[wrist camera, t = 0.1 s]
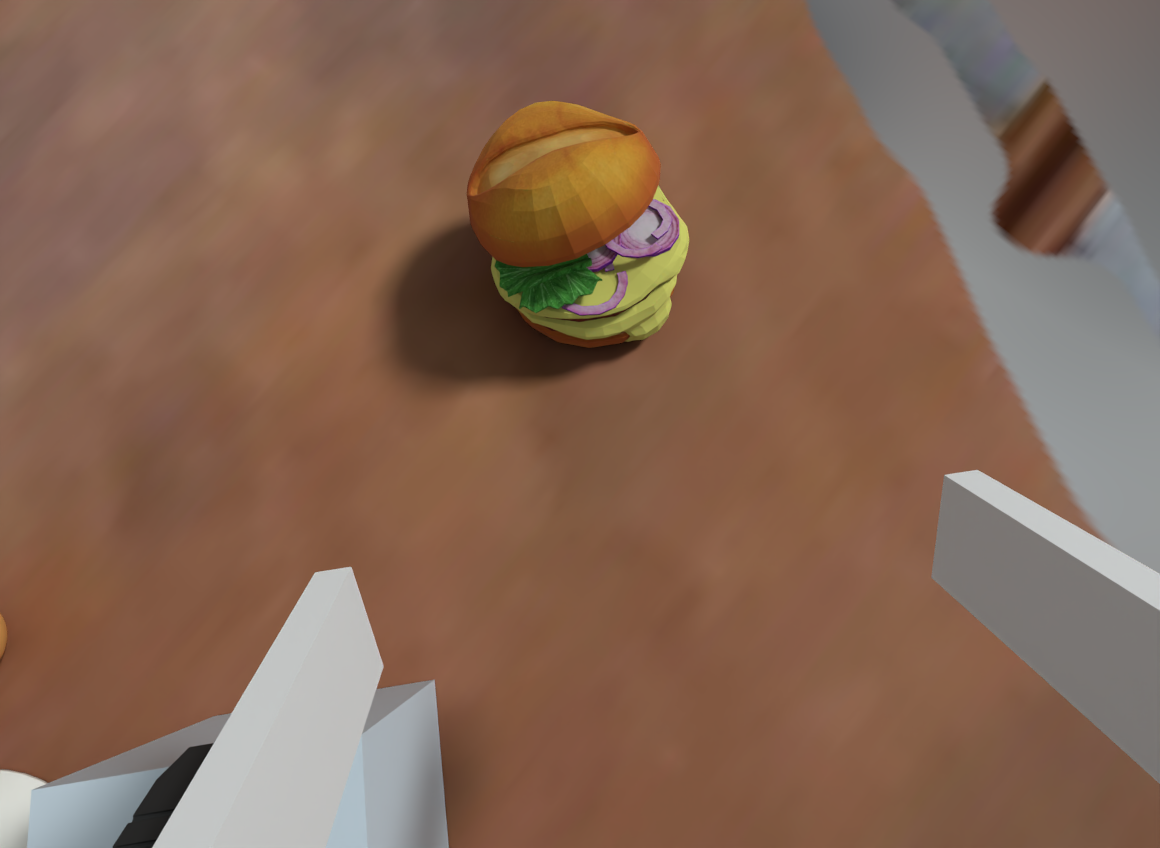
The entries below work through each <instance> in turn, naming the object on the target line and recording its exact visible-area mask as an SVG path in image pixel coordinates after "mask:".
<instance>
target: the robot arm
mask: <svg viewBox="0 0 1160 848" xmlns="http://www.w3.org/2000/svg"><path fill="white" fill-rule="evenodd" d="M931 578H932V579H934V580H935V581H936V582H937V583H938V584H939V585H940V586H941V587H942V588H944V589H945V590H946V591H947V592H948V593H949V594H950V595H951V596H952V597H954V598H955V599H956V600H957V601H958V602H959V603H960V604H961V605H962V606H964V607H965V608H966V609H967V610H968V611H969V612H970V613H971V614H972V615H973V616H975V617H976V618H977V619H978V620H979V621H980V622H981V623H982V624H983V625H985V626H986V627H987V628H988V629H989V630H990V631H991V632H992V633H993V634H995V635H996V636H997V637H998V638H999V639H1000V640H1001V641H1002V642H1003V643H1005V644H1006V645H1007V646H1008V647H1009V648H1010V649H1011V650H1012V651H1013V652H1014V653H1016V654H1017V655H1018V656H1019V657H1020V658H1021V659H1022V660H1023V661H1024V662H1026V663H1027V664H1028V665H1029V666H1030V667H1031V668H1032V669H1033V670H1034V671H1036V672H1037V673H1038V674H1039V675H1040V676H1041V677H1042V678H1043V679H1044V680H1046V681H1047V682H1048V683H1049V684H1050V685H1051V686H1052V687H1053V688H1054V689H1055V690H1057V691H1058V692H1059V693H1060V694H1061V695H1062V696H1063V697H1064V698H1065V699H1067V700H1068V701H1069V702H1070V703H1071V704H1072V705H1073V706H1074V707H1075V708H1077V709H1078V710H1079V711H1080V712H1081V713H1082V714H1083V715H1084V716H1085V717H1087V718H1088V719H1089V720H1090V721H1091V722H1092V723H1093V724H1094V725H1095V726H1097V727H1098V728H1099V729H1100V730H1101V731H1102V732H1103V733H1104V734H1105V735H1106V736H1108V737H1109V738H1110V739H1111V740H1112V741H1113V742H1114V743H1115V744H1116V745H1118V746H1119V747H1120V748H1121V749H1122V750H1123V751H1124V752H1125V753H1126V754H1128V755H1129V756H1130V757H1131V758H1132V759H1133V760H1134V761H1135V762H1136V763H1138V764H1139V765H1140V766H1141V767H1142V768H1143V769H1144V770H1145V771H1146V772H1147V773H1149V774H1150V775H1151V776H1152V777H1153V778H1154V779H1155V780H1156V781H1157V782H1159V783H1160V574H1159V573H1157V572H1155V571H1154V570H1152V569H1150V568H1148V567H1147V566H1145V565H1143V564H1141V563H1139V562H1138V561H1136V560H1134V559H1132V558H1131V557H1129V556H1127V555H1126V554H1124V553H1122V552H1120V551H1119V550H1117V549H1115V548H1113V547H1112V546H1110V545H1108V544H1106V543H1105V542H1103V541H1101V540H1099V539H1098V538H1096V537H1094V536H1092V535H1091V534H1089V533H1087V532H1085V531H1084V530H1082V529H1080V528H1078V527H1077V526H1075V525H1073V524H1071V523H1070V522H1068V521H1066V520H1064V519H1063V518H1061V517H1059V516H1057V515H1056V514H1054V513H1052V512H1050V511H1049V510H1047V509H1045V508H1043V507H1042V506H1040V505H1038V504H1036V503H1035V502H1033V501H1031V500H1029V499H1028V498H1026V497H1024V496H1022V495H1021V494H1019V493H1017V492H1015V491H1013V490H1012V489H1010V488H1008V487H1006V486H1005V485H1003V484H1001V483H999V482H998V481H996V480H994V479H992V478H991V477H989V476H987V475H985V474H984V473H982V472H980V471H978V470H974V471H967V472H961V473H954V474H948V475H944V481H943V489H942V497H941V505H940V513H939V521H938V529H937V537H936V545H935V553H934V561H933V569H932V577H931ZM382 669H383V663H382V660H381V657H380V654H379V651H378V648H377V645H376V642H375V638H374V635H373V632H372V629H371V626H370V623H369V620H368V617H367V614H366V611H365V608H364V605H363V601H362V598H361V595H360V592H359V589H358V586H357V583H356V580H355V577H354V574H353V571H352V568H351V567H347V568H341V569H334V570H328V571H321V572H315V574H314V575H313V577H312V579H311V580H310V582H309V584H308V585H307V587H306V589H305V590H304V592H303V594H302V596H301V597H300V599H299V601H298V602H297V604H296V606H295V607H294V609H293V611H292V612H291V614H290V616H289V617H288V619H287V621H286V623H285V624H284V626H283V628H282V629H281V631H280V633H279V634H278V636H277V638H276V639H275V641H274V643H273V644H272V646H271V648H270V650H269V651H268V653H267V655H266V656H265V658H264V660H263V661H262V663H261V665H260V666H259V668H258V670H257V671H256V673H255V675H254V677H253V678H252V680H251V682H250V683H249V685H248V687H247V688H246V690H245V692H244V693H243V695H242V697H241V699H240V700H239V702H238V704H237V705H236V707H235V709H234V710H233V712H232V714H231V715H230V717H229V719H228V720H227V722H226V724H225V726H224V727H223V729H222V731H221V732H220V734H219V736H218V737H217V739H216V741H215V742H214V743H211V744H205V745H199V746H193V747H189V748H188V749H187V750H186V751H185V752H184V753H183V754H182V755H181V756H180V757H179V758H178V759H177V760H176V761H175V762H174V763H173V764H172V765H171V766H170V767H169V768H168V769H167V770H166V771H165V772H164V773H163V774H162V775H161V776H160V777H159V778H157V779H156V781H155V783H154V784H153V786H152V787H151V789H150V790H149V792H148V793H147V795H146V796H145V798H144V799H143V801H142V802H141V804H140V805H139V807H138V808H137V810H136V811H135V813H134V815H133V820H132V822H131V823H128V824H127V825H126V827H125V828H124V830H123V831H122V833H121V834H120V836H119V837H118V839H117V840H116V842H115V843H114V845H113V848H326V845H327V842H328V839H329V836H330V832H331V829H332V826H333V823H334V820H335V817H336V814H337V810H338V807H339V804H340V801H341V798H342V795H343V792H344V788H345V785H346V782H347V779H348V776H349V773H350V770H351V767H352V763H353V760H354V757H355V754H356V751H357V748H358V745H359V741H360V738H361V735H362V732H363V729H364V726H365V723H366V719H367V716H368V713H369V710H370V707H371V704H372V701H373V698H374V694H375V691H376V688H377V685H378V682H379V679H380V676H381V672H382Z"/></svg>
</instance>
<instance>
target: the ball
mask: <svg viewBox="0 0 1160 848" xmlns="http://www.w3.org/2000/svg"><path fill="white" fill-rule="evenodd" d="M6 644H7V627H6V623H5V621H4V618H3V616H2V615H1V613H0V659H1V657H2V655H3V653H4V651H5V648H6Z"/></svg>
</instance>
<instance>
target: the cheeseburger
mask: <svg viewBox="0 0 1160 848" xmlns="http://www.w3.org/2000/svg"><path fill="white" fill-rule="evenodd" d="M660 168H661V164H660V161H659V157H658V156H657V154H656V152H655V151H654V149H653V148H652V146H651V145H650V143H649V141H648V140H647V138H646V137H645V135H644V134H643V132H642V131H641V130H640V129H639V128H637V127H636V126H635V125H634V124H631V123H629V122H626V121H623V120H620V119H617V118H614V117H611V116H608V115H605V114H602V113H599V112H597V111H594V110H591V109H589V108H586V107H583V106H580V105H577V104H571V103H564V102H558V101H547V102H539V103H534V104H532V105H530V106H527V107H525V108H523V109H520V110H519V111H518V112H516V113H515V114H514V115H512V116H511V117H510V118H508V119H507V120H506V121H505V122H504V123H503V124H502V125H501V126H500V127H499V128H498V129H497V131H496V132H495V133H494V134H493V135H492V136H491V138H490V139H489V141H488V142H487V144H486V145H485V146H484V148H483V150H482V152H481V154H480V156H479V158H478V160H477V162H476V164H475V166H474V168H473V171H472V173H471V175H470V178H469V182H468V187H467V199H468V207H469V215H470V222H471V226H472V228H473V230H474V232H475V234H476V236H477V238H478V240H479V242H480V244H481V245H482V246H483V247H484V248H485V249H486V250H487V252H488V253H489V254H490V255H491V256H492V264H491V271H492V275H493V278H494V282H495V285H496V287H497V289H498V291H499V293H500V296H502V297H503V298H504V301H506V302H508V303H510V304H512V306H514V307H516V309H517V310H518V312H519V313H520V315H521V316H522V318H523V319H524V320H525V321H526V322H527V323H528V324H529V325H530V326H531V327H532V328H534V329H536V330H538V331H539V332H541V333H543V334H544V335H546V336H548V337H550V338H551V339H553V340H555V341H556V342H560V343H566V344H571V345H577V346H582V347H588V348H592V347H598V346H605V345H612V344H618V343H623V342H624V341H626V342H629V341H633V340H643V339H645V338H647V337H649V336H650V335H652V334H654V333H655V332H657V331H659V329H660V328H661V327H662V325H663V324H664V323H665V321H666V320H667V318H668V316H669V312H670V309H671V305H672V304H671V299H670V297H671V296H672V294H673V291H674V286H675V284H676V279H677V274H678V273H679V272H680V270H681V268H682V265H683V263H684V261H685V258H686V254H687V250H688V245H689V234H688V229H687V226H686V225H685V223H684V222H683V220H682V219H681V218H680V216H679V215H678V214H677V212H676V211H675V210H674V208H673V207H672V205H671V204H670V203H669V201H668V200H667V199H666V197H665V196H664V194H663V192H662V191H661V189H660V188H659V186H658V184H659V180H660Z"/></svg>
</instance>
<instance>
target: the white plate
mask: <svg viewBox="0 0 1160 848" xmlns="http://www.w3.org/2000/svg"><path fill="white" fill-rule="evenodd" d="M45 784H48V782H46V781H44V780H42V779H40V778H37V777H35V776H32V775H29V774H27V773H22V772H17V771H13V770H3V769H0V848H27V842H28V829H29V816H30V803H31V790H33V789H35V788H38V787H40V786H43V785H45Z"/></svg>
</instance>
